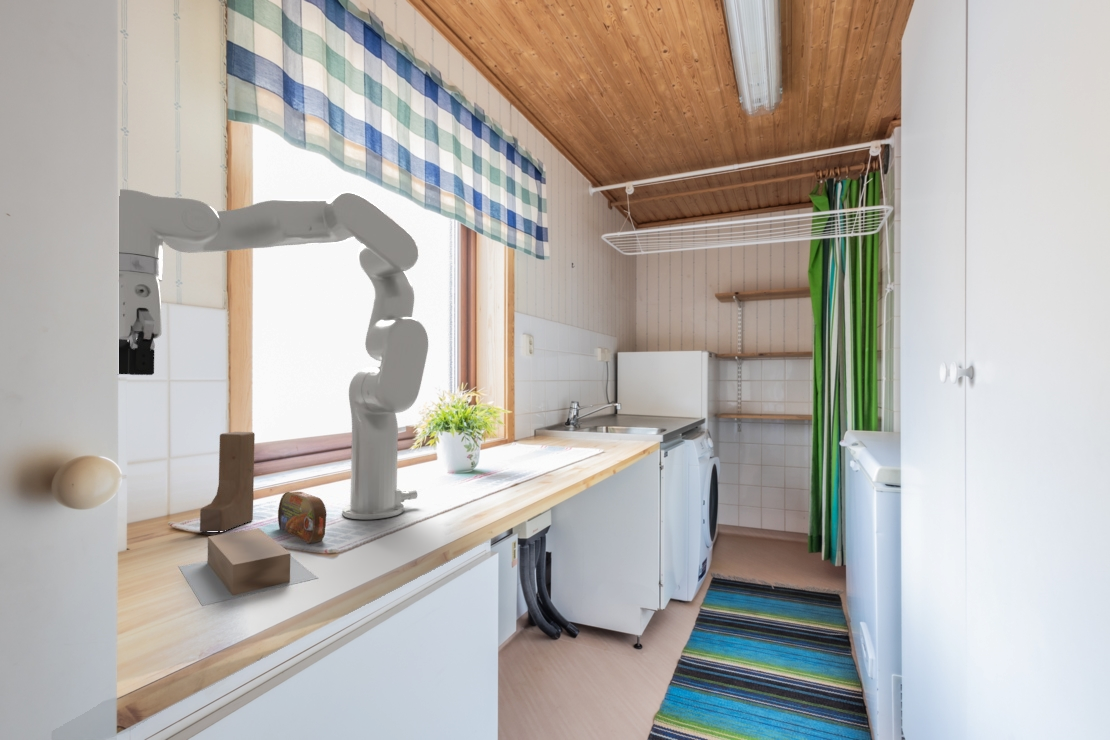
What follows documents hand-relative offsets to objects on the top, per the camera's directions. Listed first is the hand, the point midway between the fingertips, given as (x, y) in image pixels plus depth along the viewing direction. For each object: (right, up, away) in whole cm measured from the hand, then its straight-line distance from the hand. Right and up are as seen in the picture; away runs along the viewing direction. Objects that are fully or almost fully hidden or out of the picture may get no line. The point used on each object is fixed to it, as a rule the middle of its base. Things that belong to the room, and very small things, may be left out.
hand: (131, 374), depth 87 cm
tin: (+23, -30, +10) cm, 39 cm away
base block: (+24, -29, -9) cm, 38 cm away
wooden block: (+5, -30, +17) cm, 35 cm away
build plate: (+24, -30, -9) cm, 39 cm away
